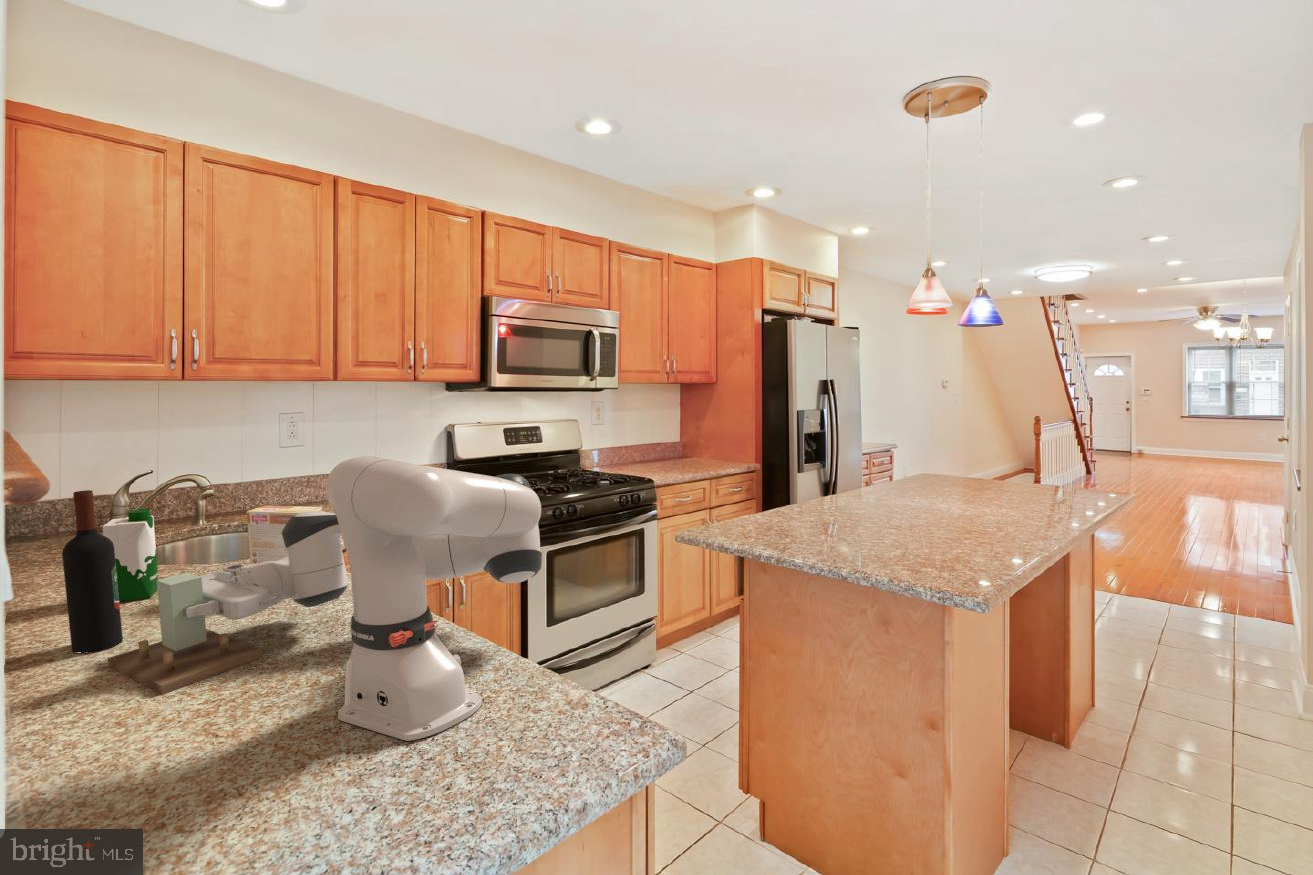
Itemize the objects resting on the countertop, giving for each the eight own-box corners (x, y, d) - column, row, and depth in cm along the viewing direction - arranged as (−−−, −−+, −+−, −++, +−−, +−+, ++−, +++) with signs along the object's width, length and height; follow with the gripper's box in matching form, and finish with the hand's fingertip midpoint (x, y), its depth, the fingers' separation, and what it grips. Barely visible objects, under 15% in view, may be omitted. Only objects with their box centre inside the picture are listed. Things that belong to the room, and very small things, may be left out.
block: (206, 640, 123) (201, 577, 122) (176, 650, 119) (170, 585, 118) (192, 635, 126) (187, 572, 125) (162, 644, 122) (156, 580, 120)
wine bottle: (64, 648, 129) (48, 493, 125) (111, 634, 135) (97, 486, 132) (83, 656, 125) (67, 497, 122) (130, 641, 132) (116, 490, 128)
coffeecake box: (327, 584, 165) (323, 506, 163) (308, 594, 158) (303, 512, 156) (271, 581, 168) (266, 504, 165) (250, 591, 161) (245, 510, 158)
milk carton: (154, 599, 155) (146, 513, 153) (104, 605, 151) (96, 517, 149) (163, 587, 163) (156, 506, 161) (116, 593, 159) (108, 509, 157)
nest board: (261, 657, 125) (259, 634, 124) (162, 694, 111) (160, 668, 111) (205, 635, 135) (203, 613, 134) (108, 666, 121) (106, 642, 121)
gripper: (286, 612, 128) (207, 638, 116) (228, 593, 138) (151, 615, 127) (284, 580, 127) (204, 603, 115) (226, 563, 138) (148, 582, 126)
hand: (176, 609), depth 121 cm, fingers closed on block, 5 cm apart
